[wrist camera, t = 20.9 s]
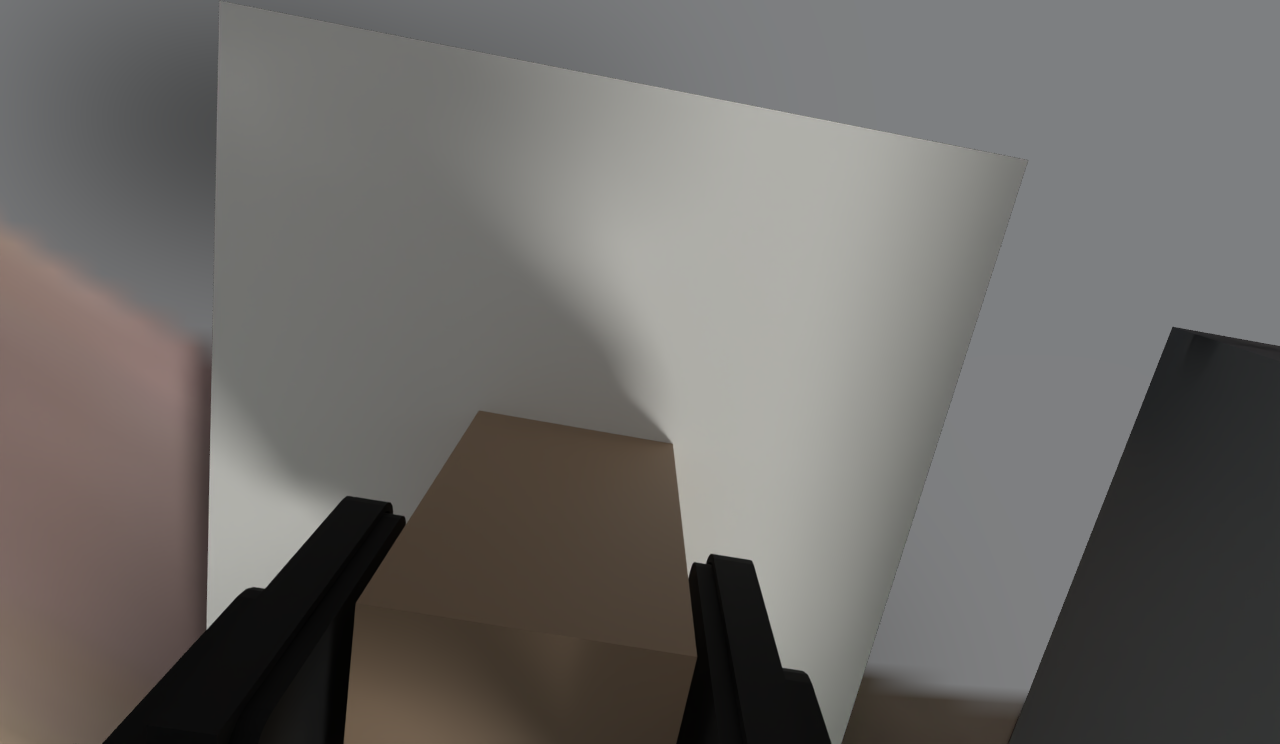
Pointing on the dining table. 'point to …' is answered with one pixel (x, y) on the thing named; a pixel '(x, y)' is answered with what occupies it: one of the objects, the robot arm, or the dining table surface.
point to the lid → (573, 368)
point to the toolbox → (1178, 568)
